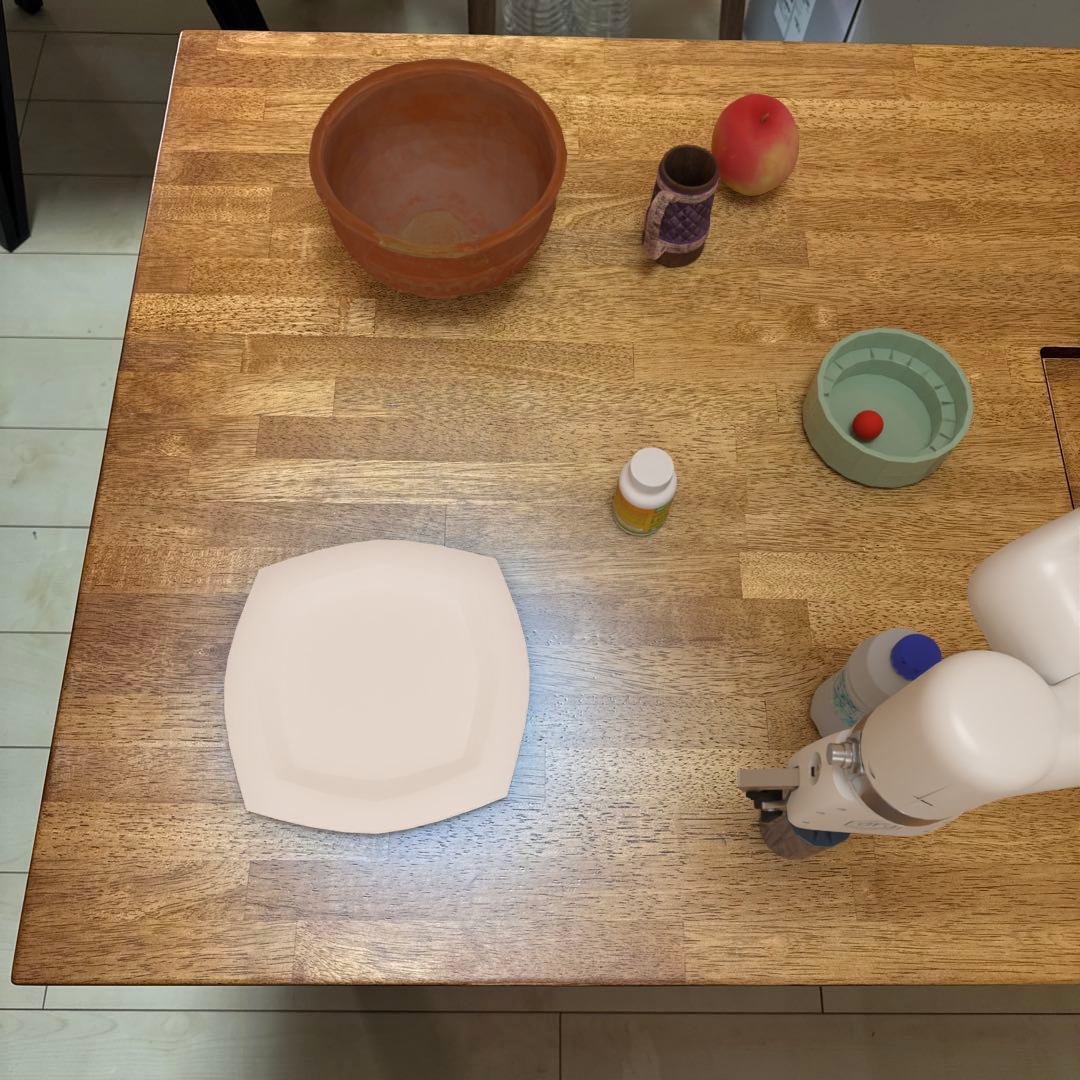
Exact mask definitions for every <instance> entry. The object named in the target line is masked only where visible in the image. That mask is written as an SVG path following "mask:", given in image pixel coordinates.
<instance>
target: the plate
mask: <svg viewBox="0 0 1080 1080" xmlns="http://www.w3.org/2000/svg"><path fill="white" fill-rule="evenodd" d="M257 571H258V572H257V574H256V576H255V578H254V581H253V583H252V586H251V588H250V591H249V592H248V595H247V597H246V601H245V604H244V605H243V609H242V612H241V614H240V617H239V619H238V622H237V624H236V627H235V631H234V634H233V638H232V641H231V644H230V648H229V652H228V656H227V661H226V667H225V674H224V683H223V707H224V708H223V714H224V719H225V720H224V721H225V727H226V735H227V742H228V746H229V750H230V754H231V758H232V762H233V767H234V771H235V775H236V779H237V782H238V786H239V789H240V793H241V797H242V801H243V804H244V806H245V810H246V811H247V812H249V813H250V812H251V813H253V814H256V815H260V816H263V817H268V818H271V819H274V820H279V821H283V822H287V823H291V824H294V825H295V824H296V825H301V826H305V827H309V828H314V829H320V830H325V831H326V830H328V831H333V832H341V833H350V834H351V833H352V834H373V835H374V834H376V835H378V834H385V833H391V832H399V831H404V830H411V829H414V828H418V827H422V826H426V825H429V824H430V825H431V824H434V823H437V822H440V821H444V820H447V819H450V818H453V817H456V816H459V815H462V814H464V813H467V812H470V811H473V810H476V809H479V808H481V807H485V806H486V805H490V804H492V803H494V802H496V801H499V800H501V799H504V798H507V797H508V794H509V791H510V787H511V783H512V779H513V776H514V773H515V769H516V765H517V762H518V759H519V753H520V749H521V745H522V741H523V737H524V733H525V730H526V729H525V728H526V724H527V723H526V722H527V715H528V708H529V703H530V683H531V682H530V680H531V679H530V678H531V669H530V661H529V654H528V647H527V642H526V638H525V634H524V631H523V626H522V623H521V619H520V616H519V613H518V610H517V607H516V605H515V602H514V600H513V597H512V594H511V592H510V589H509V586H508V583H507V581H506V579H505V577H504V574H503V572H502V569H501V567H500V564H499V561H498V560H497V558H494V557H491V556H486V555H483V554H480V553H477V552H476V553H475V552H471V551H468V550H463V549H459V548H453V547H449V546H444V545H439V544H433V543H426V542H421V541H413V540H404V539H403V540H402V539H401V540H400V539H383V538H377V539H370V540H362V541H355V542H347V543H344V544H338V545H334V546H330V547H326V548H322V549H318V550H314V551H311V552H308V553H304V554H301V555H296V556H294V557H291V558H286V559H284V560H280V561H278V562H275V563H273V564H270V565H267V566H264V567H261V568H259V569H258V570H257Z"/></svg>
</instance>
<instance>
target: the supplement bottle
mask: <svg viewBox="0 0 1080 1080" xmlns="http://www.w3.org/2000/svg"><path fill="white" fill-rule="evenodd" d="M677 488H678V477H677V473H676V471H675V464H674V461H673V459H672V457H671V455H669V453H667V452H666V451H664V450H663V449H661V448H659V447H655V446H654V447H653V446H652V447H651V446H650V447H644V448H640V449H639V450H638V451H636V452H635V453H634V455H632V457H631V458H630V459H629V460H628V461H627V462H625V464H624V465H623V466H622V468H621V470H620V472H619V476H618V480H617V484H616V489H615V494H614V497H613V502H612V509H611V510H612V511H611V512H612V516H613V519H614V521H615V524H616V525H618V527H619V528H620V529H621V530H622V531H624V532H625V533H628V534H630V535H632V536H637V537H645V536H649V535H652V534H654V533H656V532H657V531H659V530H660V529H661V528H662V527H663V526H664V524H665V522H666V520H667V517H668V515H669V513H670V510H671V507H672V504H673V501H674V497H675V495H676V493H677Z"/></svg>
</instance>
